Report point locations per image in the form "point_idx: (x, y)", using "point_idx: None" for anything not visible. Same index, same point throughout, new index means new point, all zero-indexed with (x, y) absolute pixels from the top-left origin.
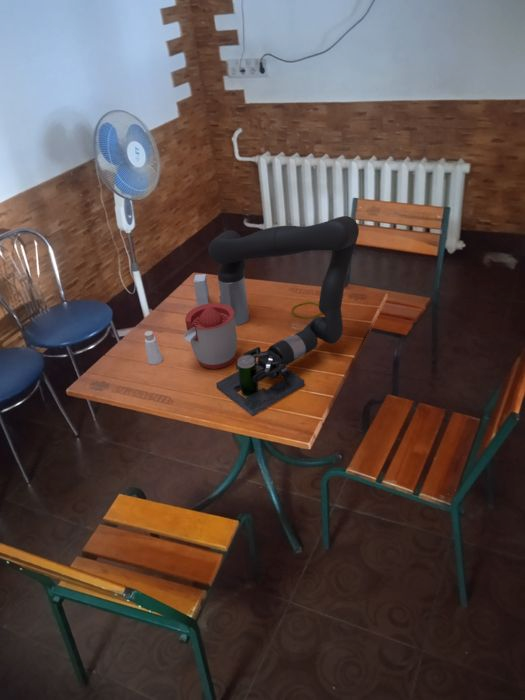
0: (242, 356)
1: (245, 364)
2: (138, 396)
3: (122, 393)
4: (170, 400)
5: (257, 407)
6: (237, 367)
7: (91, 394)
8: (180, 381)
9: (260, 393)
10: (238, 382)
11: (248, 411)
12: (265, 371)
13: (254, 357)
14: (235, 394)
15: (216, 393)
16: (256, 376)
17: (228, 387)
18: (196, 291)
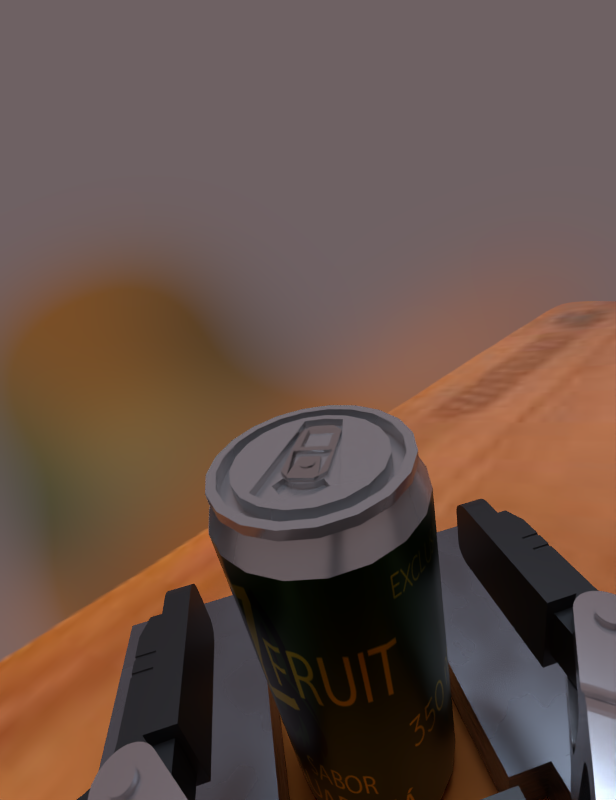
0: (402, 435)
1: (235, 442)
2: (506, 364)
3: (531, 344)
4: (456, 412)
5: (122, 671)
6: (457, 524)
7: (539, 317)
8: (593, 432)
9: (227, 767)
10: (466, 635)
11: None
12: (123, 748)
13: (582, 721)
14: None
15: None
16: (166, 611)
17: None
18: None
